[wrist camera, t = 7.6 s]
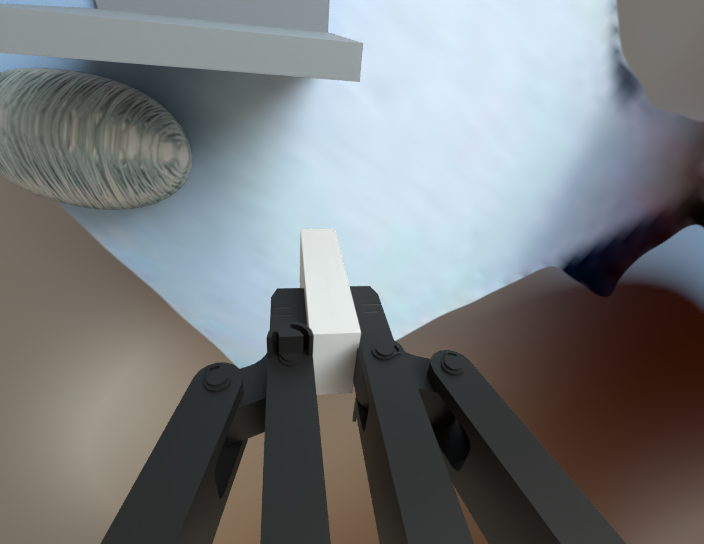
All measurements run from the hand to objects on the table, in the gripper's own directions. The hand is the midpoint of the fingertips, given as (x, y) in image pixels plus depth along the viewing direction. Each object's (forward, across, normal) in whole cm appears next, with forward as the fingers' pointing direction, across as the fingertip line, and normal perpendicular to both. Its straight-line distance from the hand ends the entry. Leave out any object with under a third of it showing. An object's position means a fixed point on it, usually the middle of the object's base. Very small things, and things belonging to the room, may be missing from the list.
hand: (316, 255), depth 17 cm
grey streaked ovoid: (+21, -15, 0) cm, 26 cm away
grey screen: (+20, -6, +10) cm, 23 cm away
